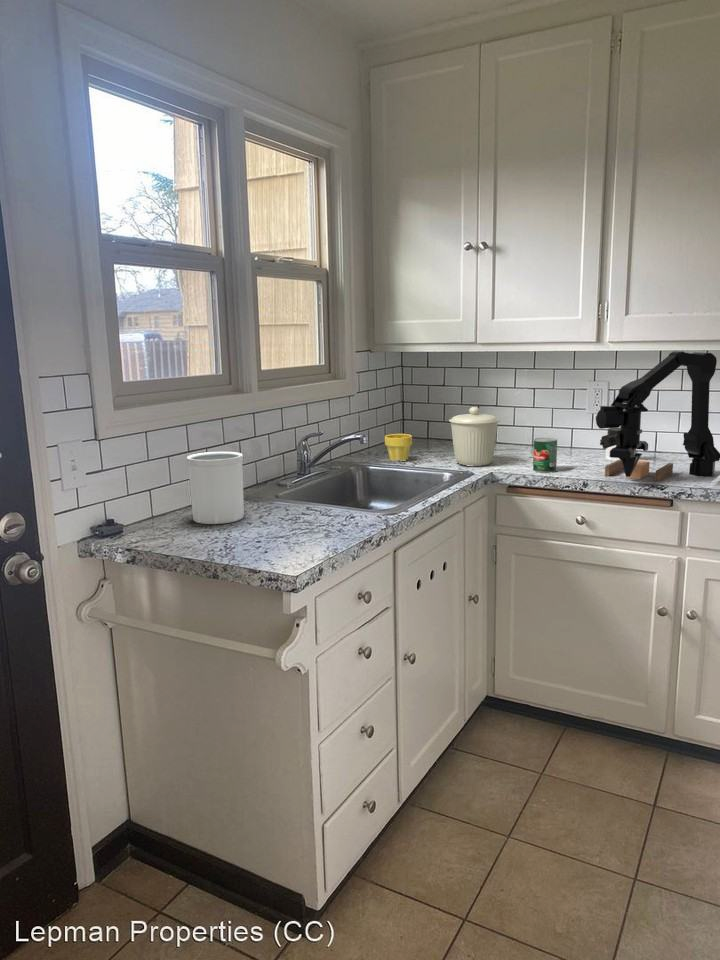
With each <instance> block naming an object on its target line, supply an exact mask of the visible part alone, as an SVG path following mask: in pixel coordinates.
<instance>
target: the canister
mask: <svg viewBox="0 0 720 960" xmlns="http://www.w3.org/2000/svg"><path fill="white" fill-rule="evenodd" d="M468 412H469V413H467V414H465V413H464V414H458V415H454V416H453V417H452V418H450V419H448V421H449V423H450V427H451V435H452V443H453V452H454V457H455V460H456V463H457V464H458V463H459V464H458V465H460V464H463V465H462V466H464V465H473V466H472V467H482V466H481V465H484V466H489V465H490V464H491V463H492V461H493V460H494V455H495V449H496V441H497V432H498V423H499V422H500V419H499V418H497V417H496V416H495V415H493V414H486V413H480V408H479V407H476V406H473V407H470V408H469V410H468Z"/></svg>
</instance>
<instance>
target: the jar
mask: <svg viewBox="0 0 720 960" xmlns="http://www.w3.org/2000/svg"><path fill="white" fill-rule="evenodd" d="M620 428H621V427H618V428H607V433H606V435H609V436H614V435H617V431H618V430H620ZM615 447H616V445H615V446H611V447H608V448H607V449H605V457H604V458H605V459H607V460H609V461H617V460H619V458H613V457H610V450H611V449H613V448H615Z"/></svg>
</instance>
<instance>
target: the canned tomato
mask: <svg viewBox="0 0 720 960" xmlns="http://www.w3.org/2000/svg"><path fill="white" fill-rule="evenodd" d="M557 457H558V439H557V438H556V437H555V438H554V437H537V438H533V459H532V461H533V463H532V465H533V466H532V467H533V468H532V471H533V472H534V471H535V473H539V474H540V473H541V474H546V473H547V474H551V472H552V473H555V471H556V472H557V461H558V460H557V459H558V458H557Z"/></svg>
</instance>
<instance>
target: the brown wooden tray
mask: <svg viewBox="0 0 720 960" xmlns="http://www.w3.org/2000/svg"><path fill="white" fill-rule="evenodd" d="M604 467H605V468H604V470H605V471H604V477H605V478H606V477H607V478H609V477H612V476H613V475H615V474H617V473H619V472H621V471H622V470H624V467H623V463H622V460H621V459H619V460H617V461H616V460H614V462H610V464H607V465H605V466H604ZM659 468H660V469H655V477H654V478H655V479H654V481H655V482H658V483H659V482H661V481H663V480H664V479H666V478H667V477H669V476H671V475H673V472H674V463H673V462H668V463H667V464H665V465H663V466H661V467H659Z"/></svg>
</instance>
